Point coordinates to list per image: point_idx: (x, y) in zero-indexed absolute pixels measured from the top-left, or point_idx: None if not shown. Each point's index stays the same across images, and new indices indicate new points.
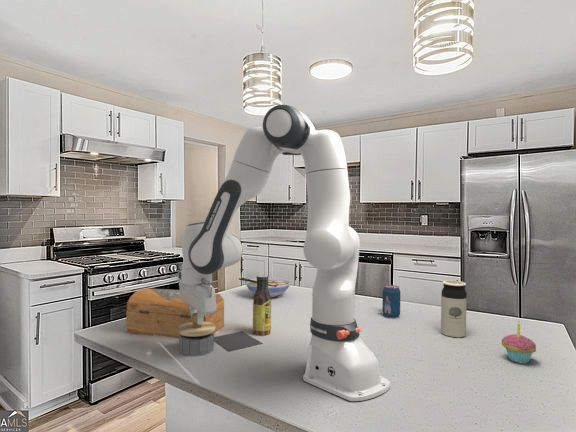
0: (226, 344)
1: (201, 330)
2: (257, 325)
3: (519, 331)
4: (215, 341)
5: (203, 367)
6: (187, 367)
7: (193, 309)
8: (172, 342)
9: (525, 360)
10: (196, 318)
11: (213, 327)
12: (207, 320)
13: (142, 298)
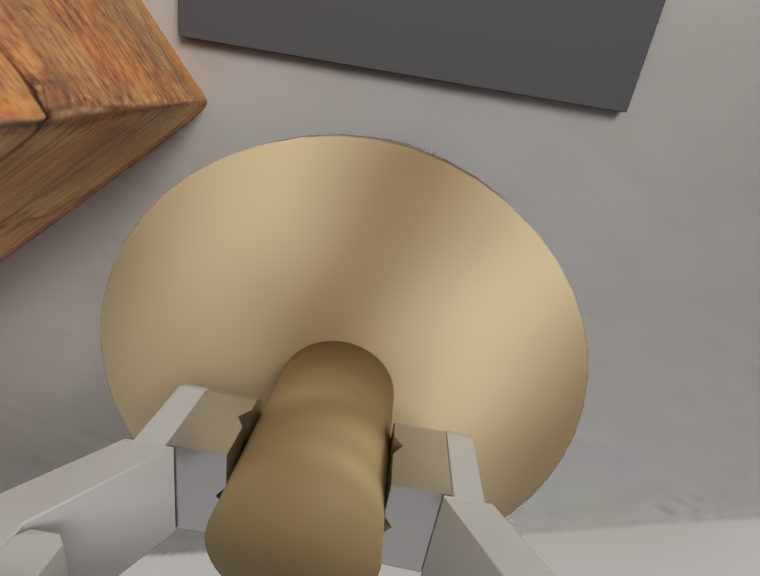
0: (463, 5)
1: (498, 422)
2: None
3: None
4: (311, 48)
5: (657, 398)
6: (569, 455)
7: (71, 561)
8: (98, 319)
9: None
10: (403, 560)
11: (522, 252)
12: (37, 38)
13: None
